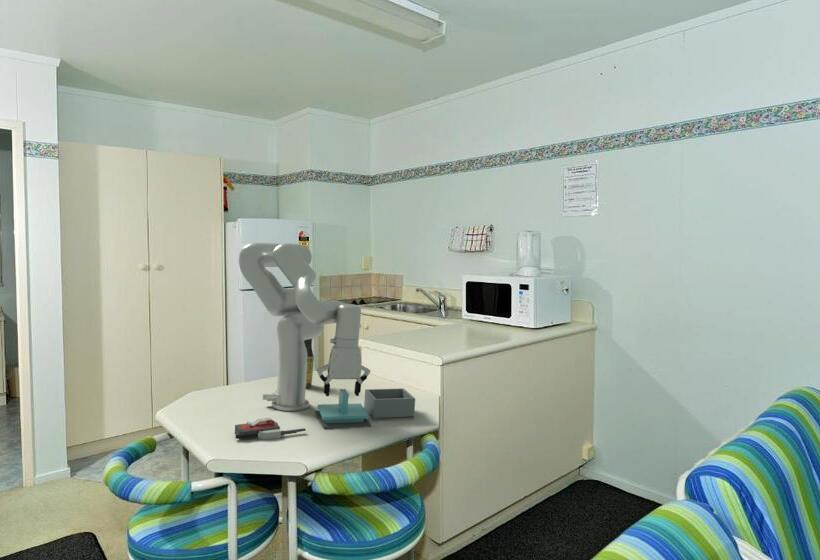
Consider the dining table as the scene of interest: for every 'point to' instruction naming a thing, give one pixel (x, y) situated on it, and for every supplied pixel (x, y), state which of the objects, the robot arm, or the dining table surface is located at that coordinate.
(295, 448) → the dining table surface
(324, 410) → the lid
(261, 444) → the dining table surface
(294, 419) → the dining table surface
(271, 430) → the walkie-talkie
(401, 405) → the tub
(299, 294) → the robot arm
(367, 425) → the mat
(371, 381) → the dining table surface
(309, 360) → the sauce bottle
